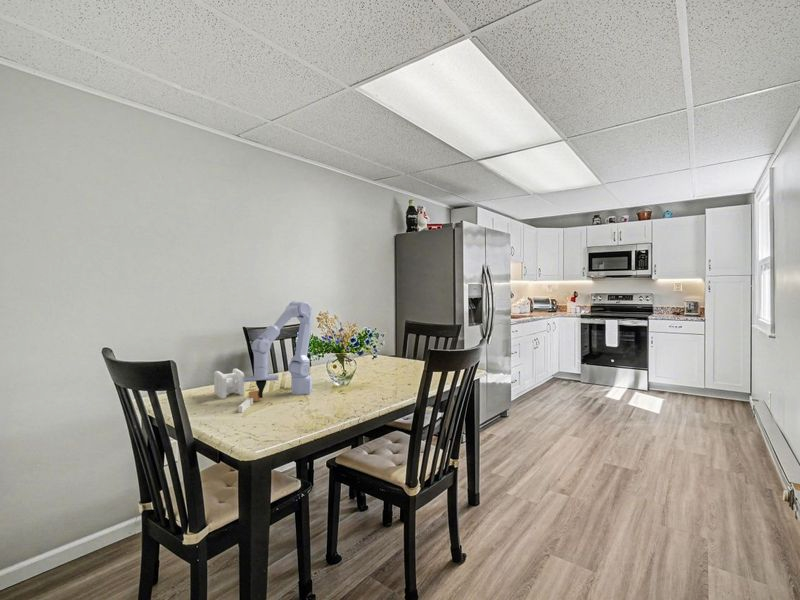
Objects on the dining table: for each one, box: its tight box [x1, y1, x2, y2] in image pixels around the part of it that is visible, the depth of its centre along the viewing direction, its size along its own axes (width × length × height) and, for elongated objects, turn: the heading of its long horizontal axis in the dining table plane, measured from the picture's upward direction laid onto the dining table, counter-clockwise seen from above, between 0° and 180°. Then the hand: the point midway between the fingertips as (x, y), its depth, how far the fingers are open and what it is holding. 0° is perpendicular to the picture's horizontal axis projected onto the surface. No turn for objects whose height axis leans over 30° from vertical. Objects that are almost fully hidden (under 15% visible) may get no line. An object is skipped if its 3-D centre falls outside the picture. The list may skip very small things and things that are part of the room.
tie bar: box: [237, 397, 254, 413], centre depth 169 cm, size 2×12×2 cm, turn 2°
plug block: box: [248, 389, 263, 402], centre depth 180 cm, size 4×4×4 cm
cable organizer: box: [213, 368, 245, 400], centre depth 191 cm, size 15×11×12 cm
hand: (261, 397), depth 179 cm, fingers closed, pressing on plug block
